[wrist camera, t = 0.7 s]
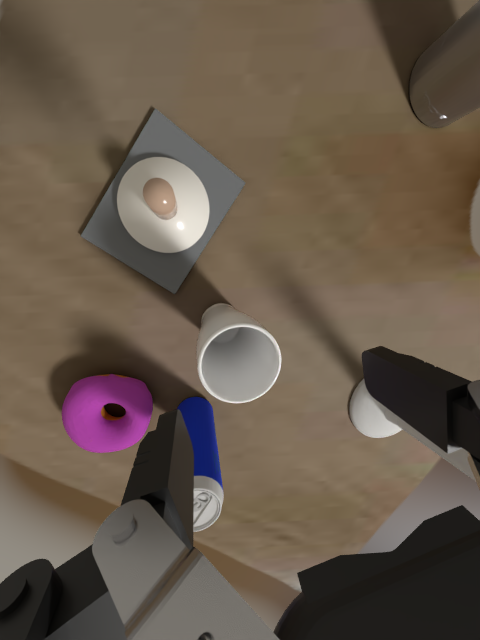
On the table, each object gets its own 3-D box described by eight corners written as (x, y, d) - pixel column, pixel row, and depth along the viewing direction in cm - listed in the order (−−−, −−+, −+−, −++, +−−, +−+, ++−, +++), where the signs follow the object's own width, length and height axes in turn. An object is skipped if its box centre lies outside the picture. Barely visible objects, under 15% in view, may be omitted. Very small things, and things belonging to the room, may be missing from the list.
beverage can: (197, 432, 36) (199, 543, 22) (168, 414, 35) (150, 520, 20) (219, 406, 36) (236, 501, 22) (191, 387, 35) (189, 475, 20)
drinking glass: (185, 330, 33) (179, 381, 18) (212, 287, 32) (228, 305, 18) (228, 354, 34) (252, 418, 20) (254, 313, 34) (299, 349, 19)
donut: (146, 439, 35) (139, 464, 31) (67, 431, 33) (48, 456, 29) (161, 374, 33) (156, 390, 29) (80, 360, 31) (61, 375, 27)
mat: (156, 111, 27) (155, 108, 26) (244, 184, 30) (245, 183, 29) (82, 236, 28) (80, 236, 28) (175, 293, 31) (174, 294, 31)
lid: (149, 140, 27) (136, 105, 21) (225, 199, 29) (232, 183, 24) (102, 218, 28) (78, 206, 22) (180, 269, 30) (177, 270, 25)
